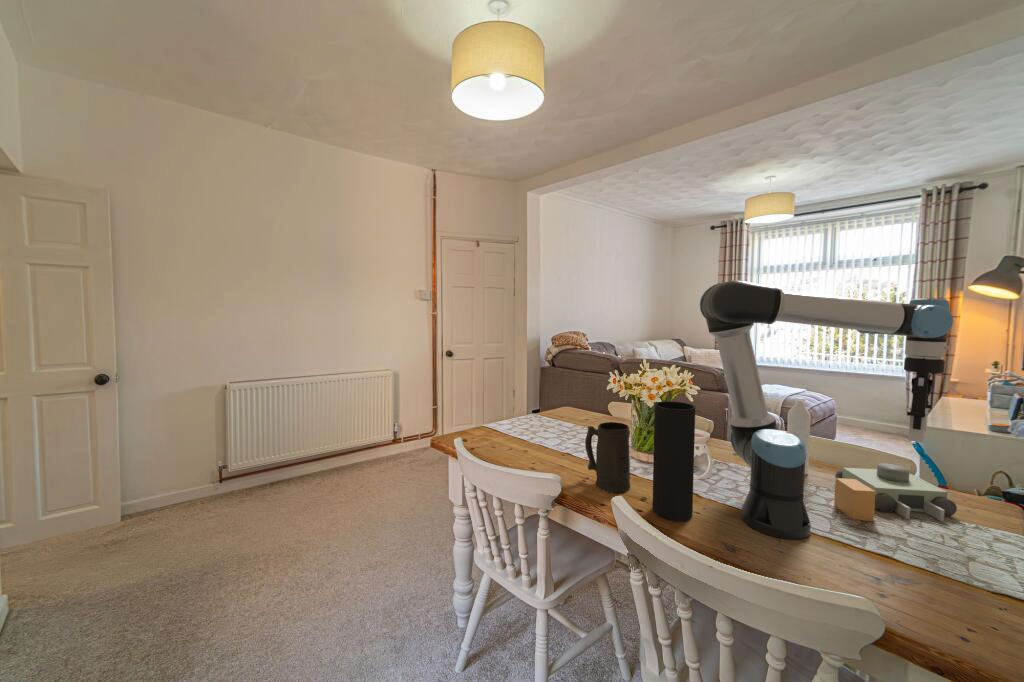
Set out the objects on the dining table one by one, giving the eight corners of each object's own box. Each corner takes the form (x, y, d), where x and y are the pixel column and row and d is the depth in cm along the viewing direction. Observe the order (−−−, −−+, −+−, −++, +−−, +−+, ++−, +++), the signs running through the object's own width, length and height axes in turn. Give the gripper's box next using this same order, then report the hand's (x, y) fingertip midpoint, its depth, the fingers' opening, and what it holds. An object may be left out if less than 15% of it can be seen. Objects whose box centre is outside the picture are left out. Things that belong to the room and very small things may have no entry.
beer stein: (637, 484, 131) (633, 422, 131) (627, 496, 122) (623, 430, 122) (591, 477, 140) (588, 419, 139) (579, 488, 131) (575, 426, 130)
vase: (656, 500, 120) (658, 399, 118) (694, 509, 115) (697, 403, 112) (649, 516, 111) (651, 407, 109) (689, 525, 106) (692, 411, 104)
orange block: (852, 519, 109) (854, 490, 108) (834, 505, 117) (835, 478, 116) (873, 520, 108) (875, 491, 107) (853, 506, 116) (855, 479, 115)
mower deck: (884, 517, 110) (886, 484, 109) (834, 483, 131) (836, 455, 131) (966, 522, 107) (968, 489, 106) (901, 487, 128) (902, 459, 128)
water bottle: (807, 476, 136) (810, 403, 135) (784, 472, 140) (787, 400, 139) (809, 469, 143) (812, 398, 141) (787, 464, 147) (790, 396, 145)
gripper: (944, 362, 97) (935, 449, 98) (946, 355, 114) (939, 430, 115) (900, 359, 102) (893, 442, 104) (908, 353, 119) (902, 424, 121)
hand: (917, 436), depth 110 cm, fingers open, 13 cm apart
